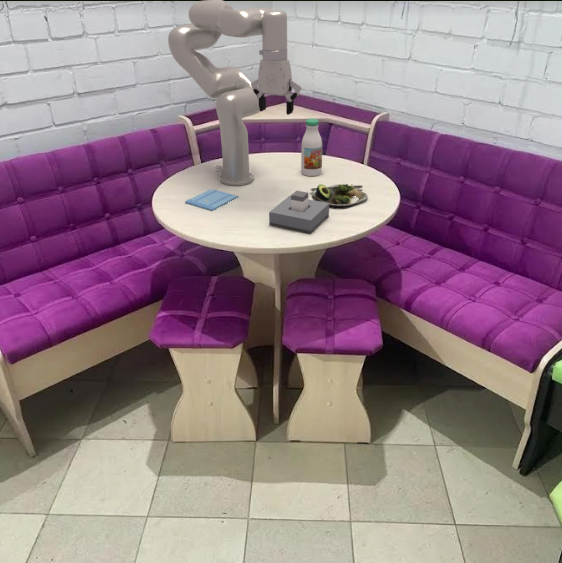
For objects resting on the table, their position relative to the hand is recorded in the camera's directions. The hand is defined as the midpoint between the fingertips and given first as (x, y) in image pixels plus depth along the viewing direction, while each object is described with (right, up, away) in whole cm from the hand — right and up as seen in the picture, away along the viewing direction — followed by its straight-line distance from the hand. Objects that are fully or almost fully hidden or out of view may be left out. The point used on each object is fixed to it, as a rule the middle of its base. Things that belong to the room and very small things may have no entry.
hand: (276, 112), depth 181 cm
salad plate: (+21, -26, +12) cm, 36 cm away
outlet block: (+7, -35, -4) cm, 36 cm away
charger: (+7, -34, -4) cm, 35 cm away
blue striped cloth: (-22, -27, +11) cm, 37 cm away
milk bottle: (+13, -14, +32) cm, 37 cm away
